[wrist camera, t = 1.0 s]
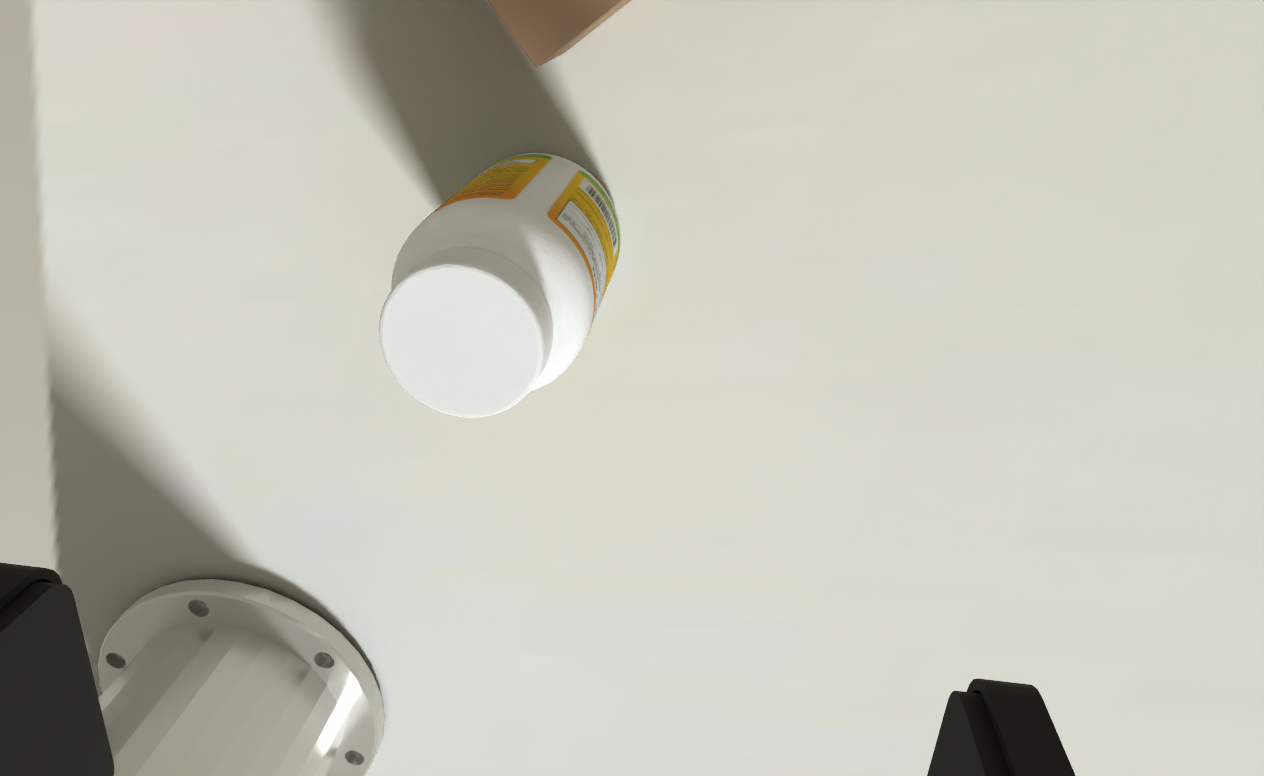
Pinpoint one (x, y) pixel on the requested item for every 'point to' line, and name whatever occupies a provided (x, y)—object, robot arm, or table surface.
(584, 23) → the walnut riser
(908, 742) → the table surface
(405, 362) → the supplement bottle
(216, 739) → the robot arm
